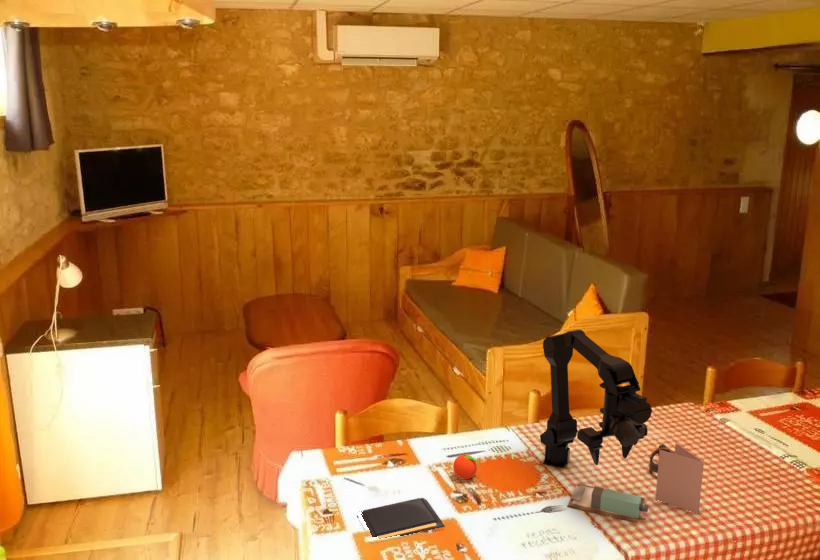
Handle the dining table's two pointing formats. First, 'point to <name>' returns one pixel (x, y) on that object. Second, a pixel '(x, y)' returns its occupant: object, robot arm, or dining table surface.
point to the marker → (617, 502)
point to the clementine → (465, 466)
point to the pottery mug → (652, 465)
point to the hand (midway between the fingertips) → (610, 461)
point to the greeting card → (679, 479)
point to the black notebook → (401, 518)
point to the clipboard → (583, 502)
